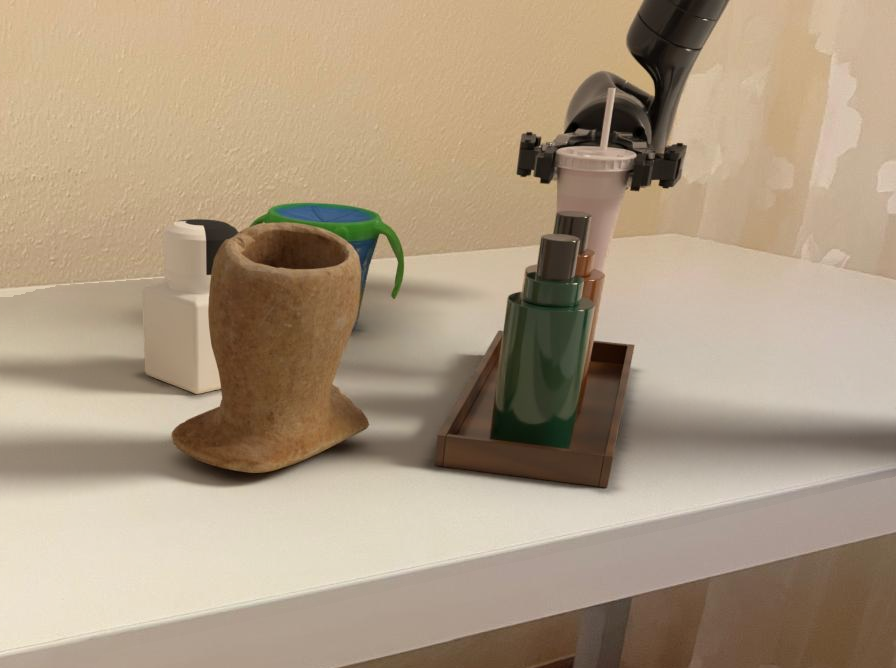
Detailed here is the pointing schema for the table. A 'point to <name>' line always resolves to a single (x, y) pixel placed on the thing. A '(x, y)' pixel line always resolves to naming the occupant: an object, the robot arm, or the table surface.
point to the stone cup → (278, 349)
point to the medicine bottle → (184, 307)
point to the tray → (582, 464)
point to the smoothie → (595, 185)
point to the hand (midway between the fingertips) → (591, 172)
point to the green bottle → (543, 350)
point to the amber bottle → (581, 273)
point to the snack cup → (343, 231)
